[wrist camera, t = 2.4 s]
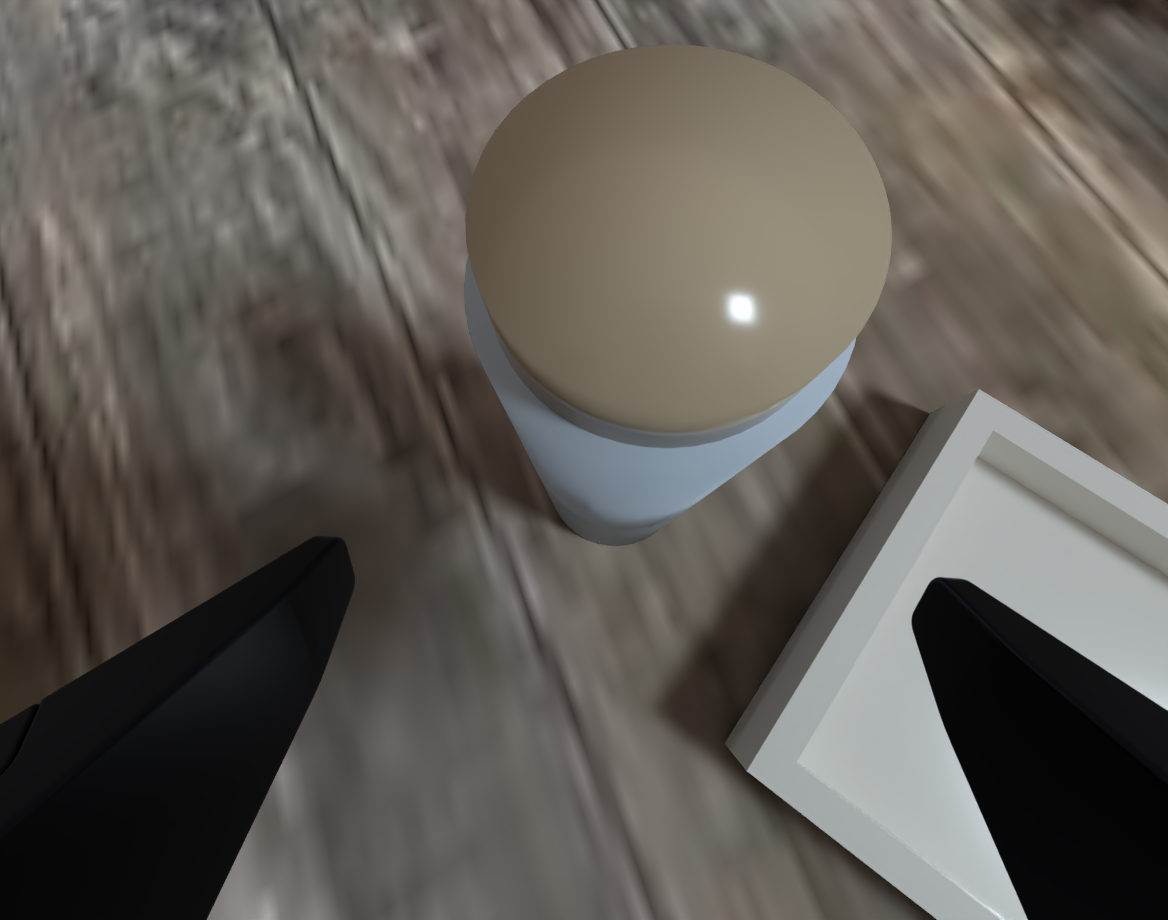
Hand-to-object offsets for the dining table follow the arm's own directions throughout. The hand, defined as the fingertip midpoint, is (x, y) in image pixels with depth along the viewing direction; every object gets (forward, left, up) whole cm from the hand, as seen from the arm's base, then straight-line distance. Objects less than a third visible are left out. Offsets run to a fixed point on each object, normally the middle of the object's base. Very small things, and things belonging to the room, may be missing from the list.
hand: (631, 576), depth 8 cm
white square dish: (+5, -13, -10) cm, 17 cm away
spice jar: (+3, +2, -10) cm, 11 cm away
